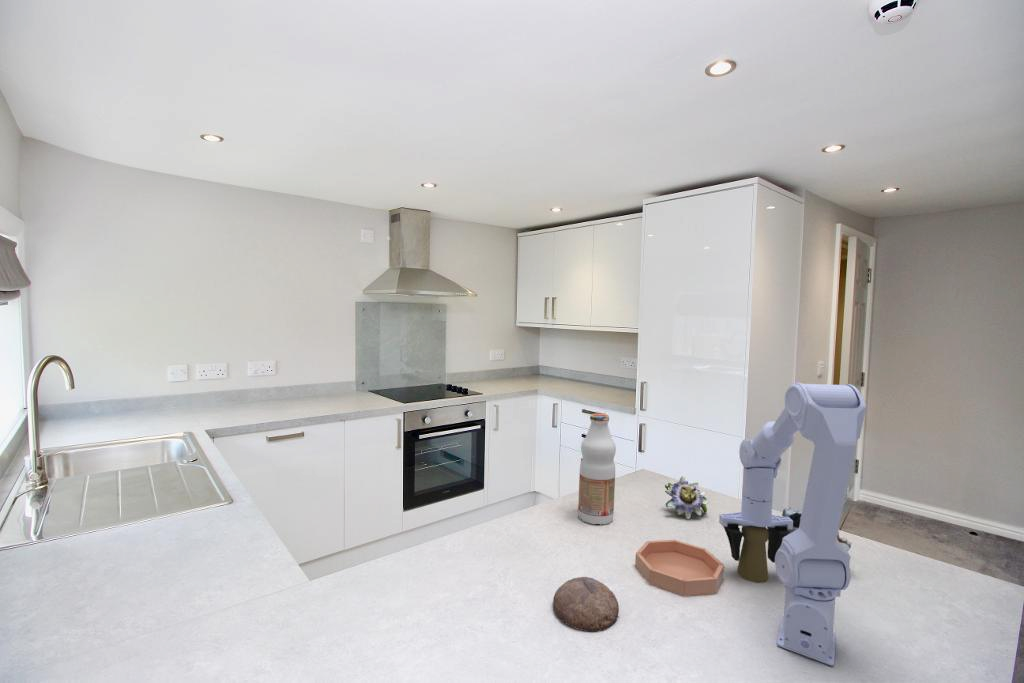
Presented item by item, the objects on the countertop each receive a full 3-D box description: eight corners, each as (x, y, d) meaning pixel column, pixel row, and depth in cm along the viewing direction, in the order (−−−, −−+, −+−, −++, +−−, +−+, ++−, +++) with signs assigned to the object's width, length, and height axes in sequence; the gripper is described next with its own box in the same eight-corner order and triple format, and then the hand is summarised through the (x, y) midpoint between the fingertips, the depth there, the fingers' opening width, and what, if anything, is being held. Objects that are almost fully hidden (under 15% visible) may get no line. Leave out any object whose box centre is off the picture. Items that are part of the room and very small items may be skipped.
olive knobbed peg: (772, 584, 99) (775, 532, 98) (741, 580, 100) (744, 529, 99) (763, 569, 105) (766, 520, 104) (733, 565, 106) (736, 517, 105)
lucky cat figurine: (852, 556, 112) (868, 517, 104) (828, 590, 106) (844, 551, 98) (786, 517, 122) (797, 479, 115) (761, 546, 116) (771, 508, 109)
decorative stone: (581, 642, 80) (582, 610, 80) (540, 604, 90) (541, 575, 90) (632, 620, 86) (633, 590, 86) (588, 586, 97) (589, 560, 96)
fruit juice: (585, 526, 123) (589, 419, 122) (572, 511, 132) (576, 411, 131) (619, 524, 125) (623, 418, 124) (604, 509, 135) (608, 411, 133)
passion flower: (686, 538, 131) (667, 506, 127) (669, 514, 141) (650, 484, 138) (721, 516, 130) (703, 484, 127) (701, 494, 141) (684, 464, 137)
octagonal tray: (710, 605, 91) (710, 590, 91) (626, 575, 101) (627, 561, 100) (728, 568, 105) (728, 555, 104) (653, 545, 114) (653, 533, 114)
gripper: (782, 491, 105) (778, 551, 106) (715, 488, 106) (711, 548, 107) (800, 504, 98) (795, 568, 99) (728, 501, 99) (724, 565, 99)
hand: (753, 559), depth 102 cm, fingers open, 7 cm apart
